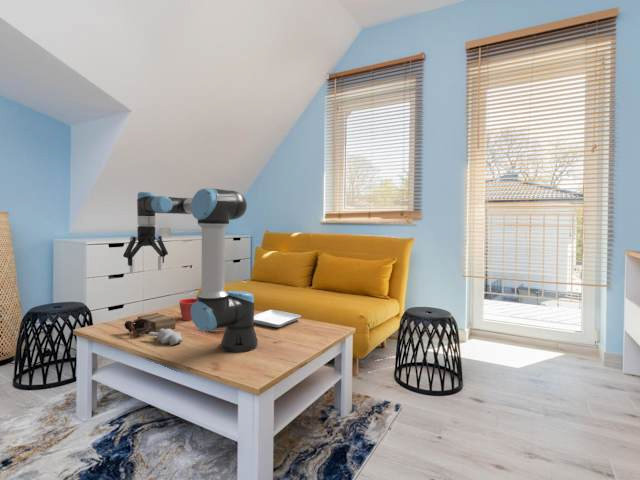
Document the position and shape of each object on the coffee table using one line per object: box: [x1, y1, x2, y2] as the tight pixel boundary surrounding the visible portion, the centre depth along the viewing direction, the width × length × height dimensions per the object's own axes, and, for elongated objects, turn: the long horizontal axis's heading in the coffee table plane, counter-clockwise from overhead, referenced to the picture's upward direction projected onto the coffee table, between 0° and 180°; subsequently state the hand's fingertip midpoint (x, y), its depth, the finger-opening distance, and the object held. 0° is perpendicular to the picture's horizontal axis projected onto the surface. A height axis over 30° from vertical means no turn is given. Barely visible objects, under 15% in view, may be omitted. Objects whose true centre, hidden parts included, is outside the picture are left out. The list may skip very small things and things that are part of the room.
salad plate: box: [254, 309, 302, 328], centre depth 195 cm, size 21×21×3 cm
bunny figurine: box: [148, 329, 184, 346], centre depth 161 cm, size 10×5×15 cm
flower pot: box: [179, 298, 197, 322], centre depth 198 cm, size 11×11×10 cm
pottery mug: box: [124, 318, 151, 338], centre depth 169 cm, size 12×10×8 cm
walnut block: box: [137, 312, 176, 333], centre depth 180 cm, size 16×10×5 cm, turn 54°
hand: (146, 271), depth 174 cm, fingers open, 13 cm apart
